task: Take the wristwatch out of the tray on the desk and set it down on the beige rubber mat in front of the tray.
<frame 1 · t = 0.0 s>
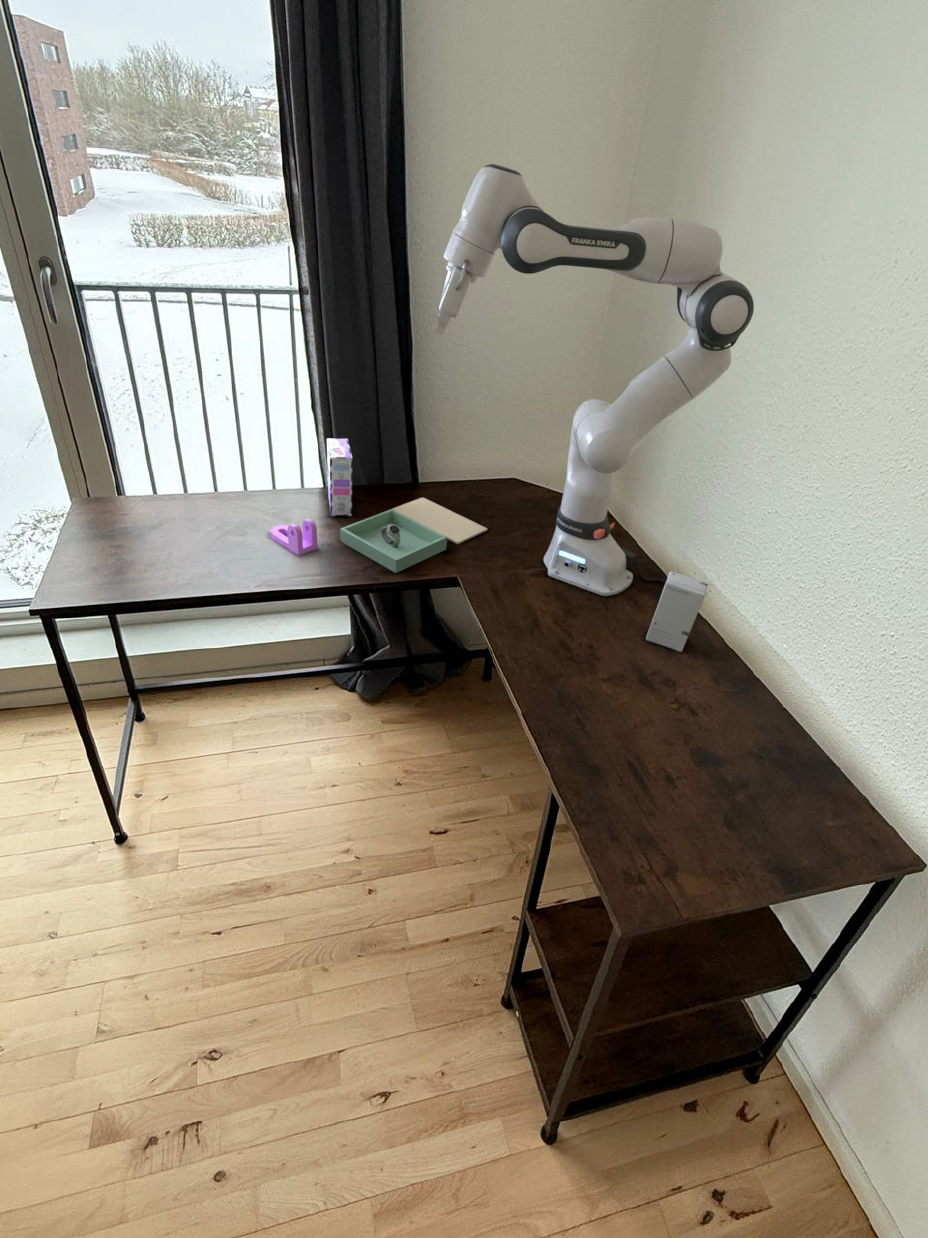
hand: (439, 327, 136), 52 cm above the table, tool tilted 20°, fingers open, 8 cm apart
wristwatch: (390, 543, 167), resting on tray
tray: (393, 545, 166), on the table
candy box: (339, 505, 182), on the table
mat: (439, 520, 180), on the table
bracket: (291, 542, 163), on the table
cosmetic box: (666, 640, 145), on the table
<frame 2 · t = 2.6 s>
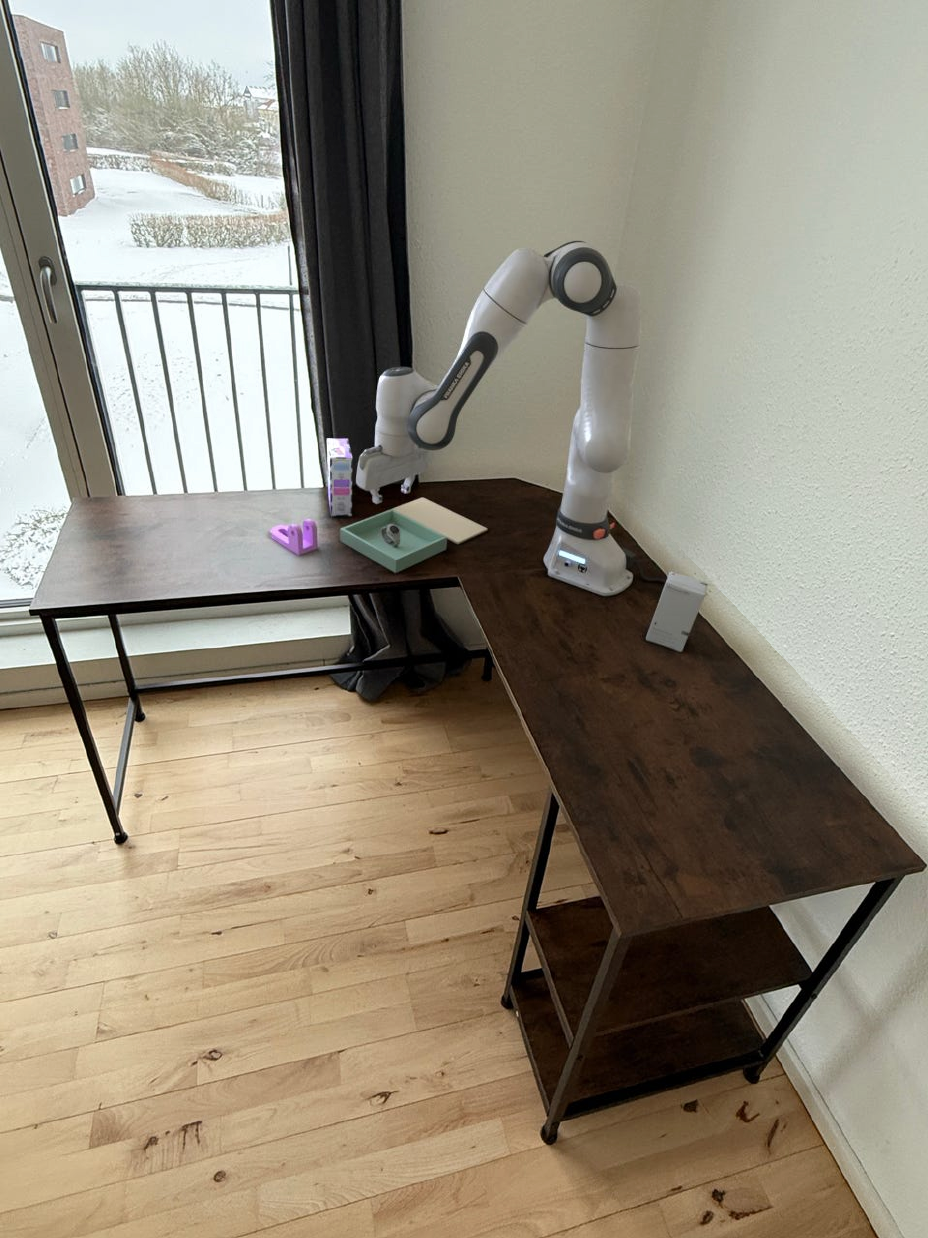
hand: (391, 497, 160), 13 cm above the table, tool pointing down, fingers open, 8 cm apart
nothing on the table moved.
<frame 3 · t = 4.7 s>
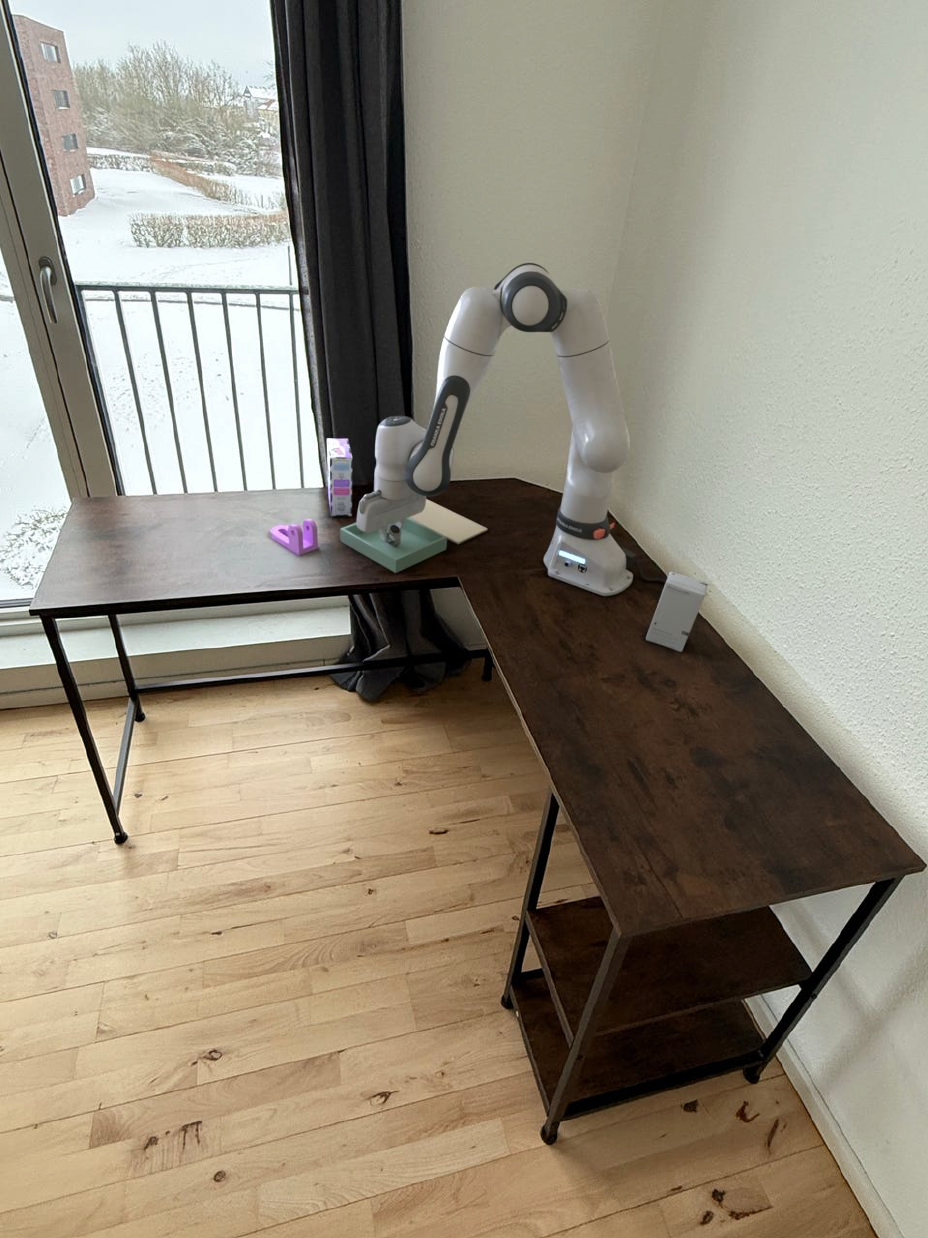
hand: (390, 537, 166), 2 cm above the table, tool pointing down, fingers closed on wristwatch, 3 cm apart
wristwatch: (391, 543, 167), resting on tray, touching gripper
everything else where it was.
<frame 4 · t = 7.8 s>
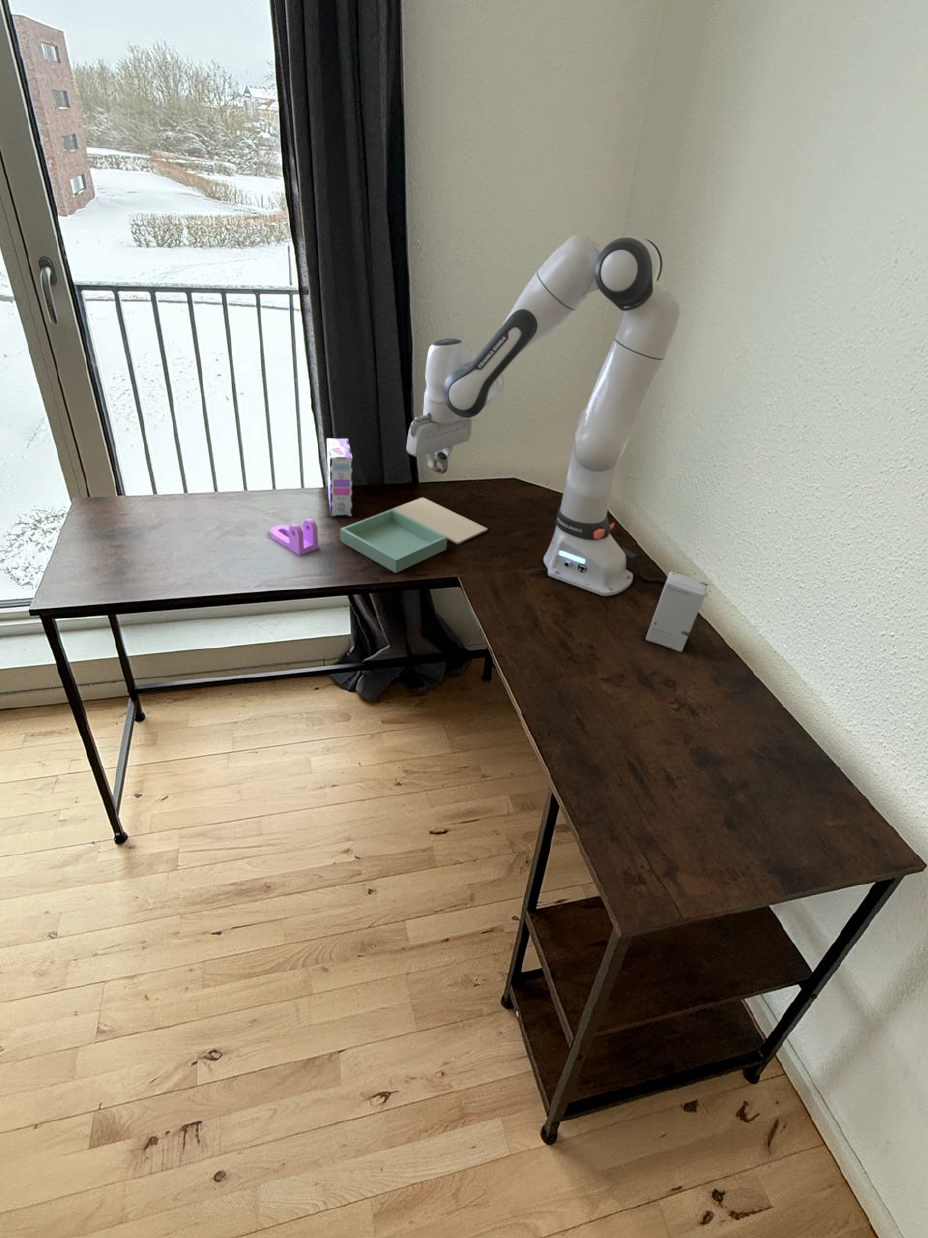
hand: (437, 464, 168), 17 cm above the table, tool pointing down, fingers closed on wristwatch, 3 cm apart
wristwatch: (437, 471, 169), point 15 cm above the table, touching gripper
everything else where it was.
when the fingers open (2 cm above the table, at t = 10.8 s): wristwatch stays where it is, resting on mat.
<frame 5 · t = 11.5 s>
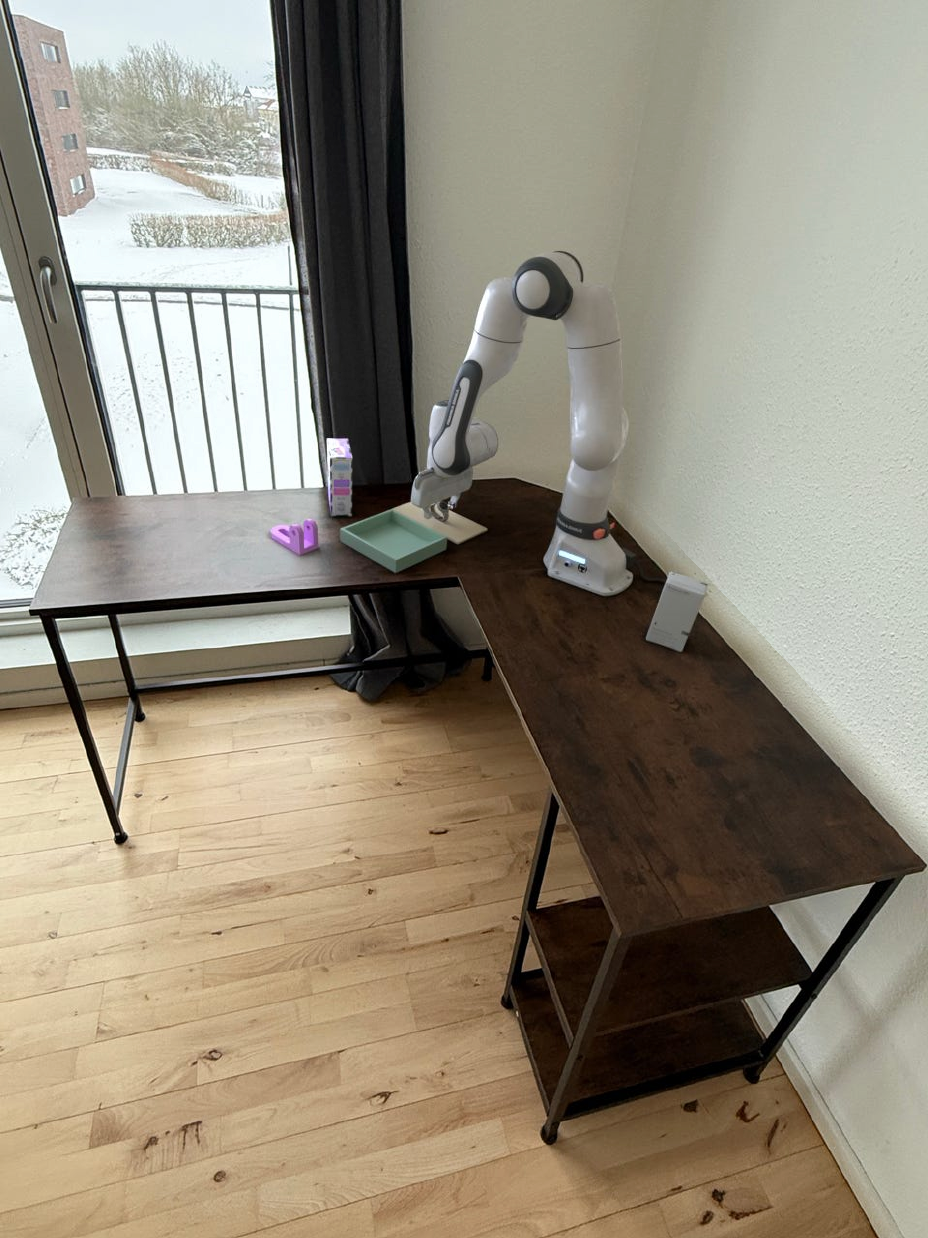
hand: (440, 512, 179), 2 cm above the table, tool pointing down, fingers open, 8 cm apart
wristwatch: (439, 519, 180), resting on mat
everything else where it was.
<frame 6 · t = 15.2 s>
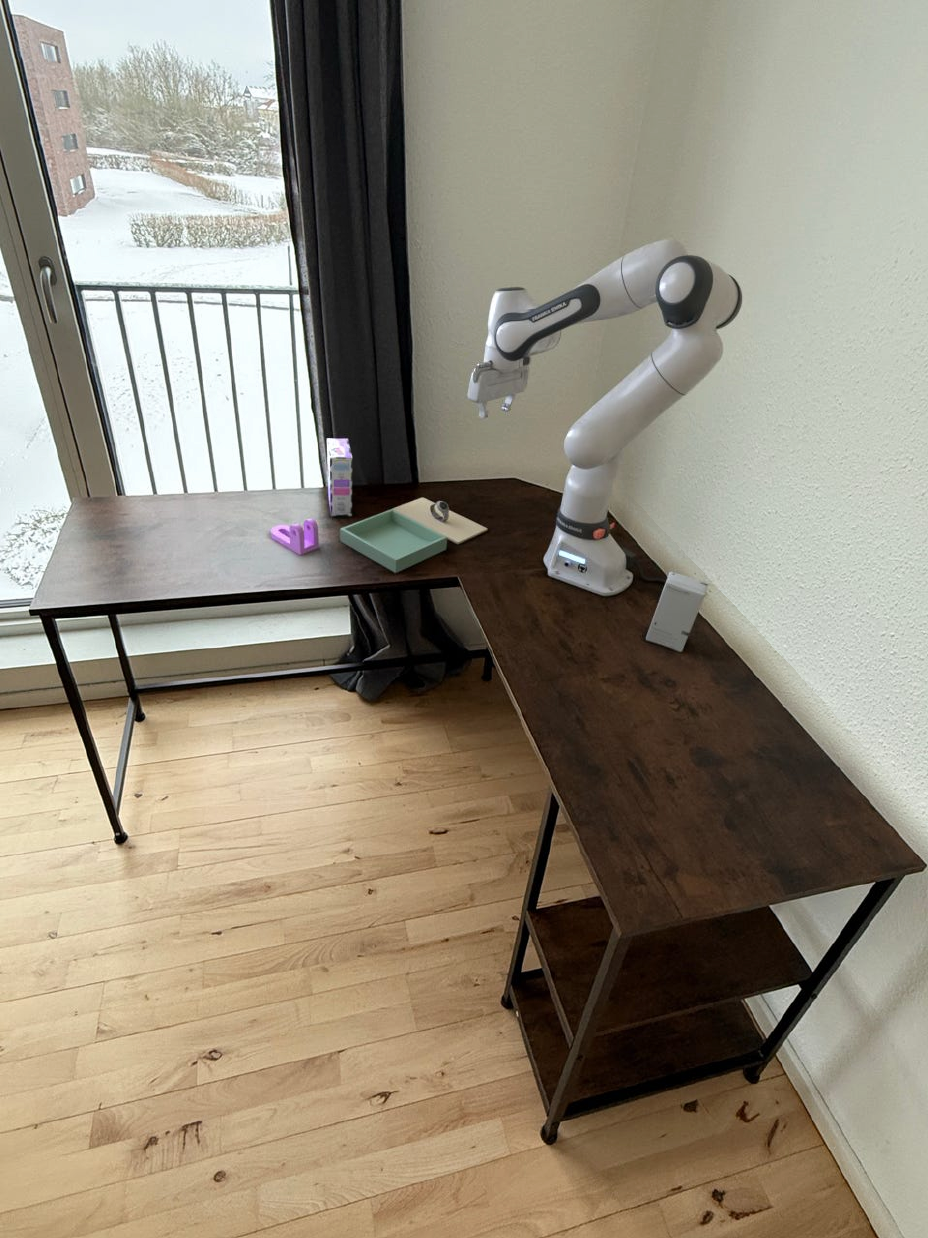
hand: (494, 413, 173), 27 cm above the table, tool pointing down, fingers open, 8 cm apart
nothing on the table moved.
at the end: wristwatch inside the target area on the mat (0.1 cm from its centre), point 0.4 cm above the mat's base; the gripper is holding nothing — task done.
